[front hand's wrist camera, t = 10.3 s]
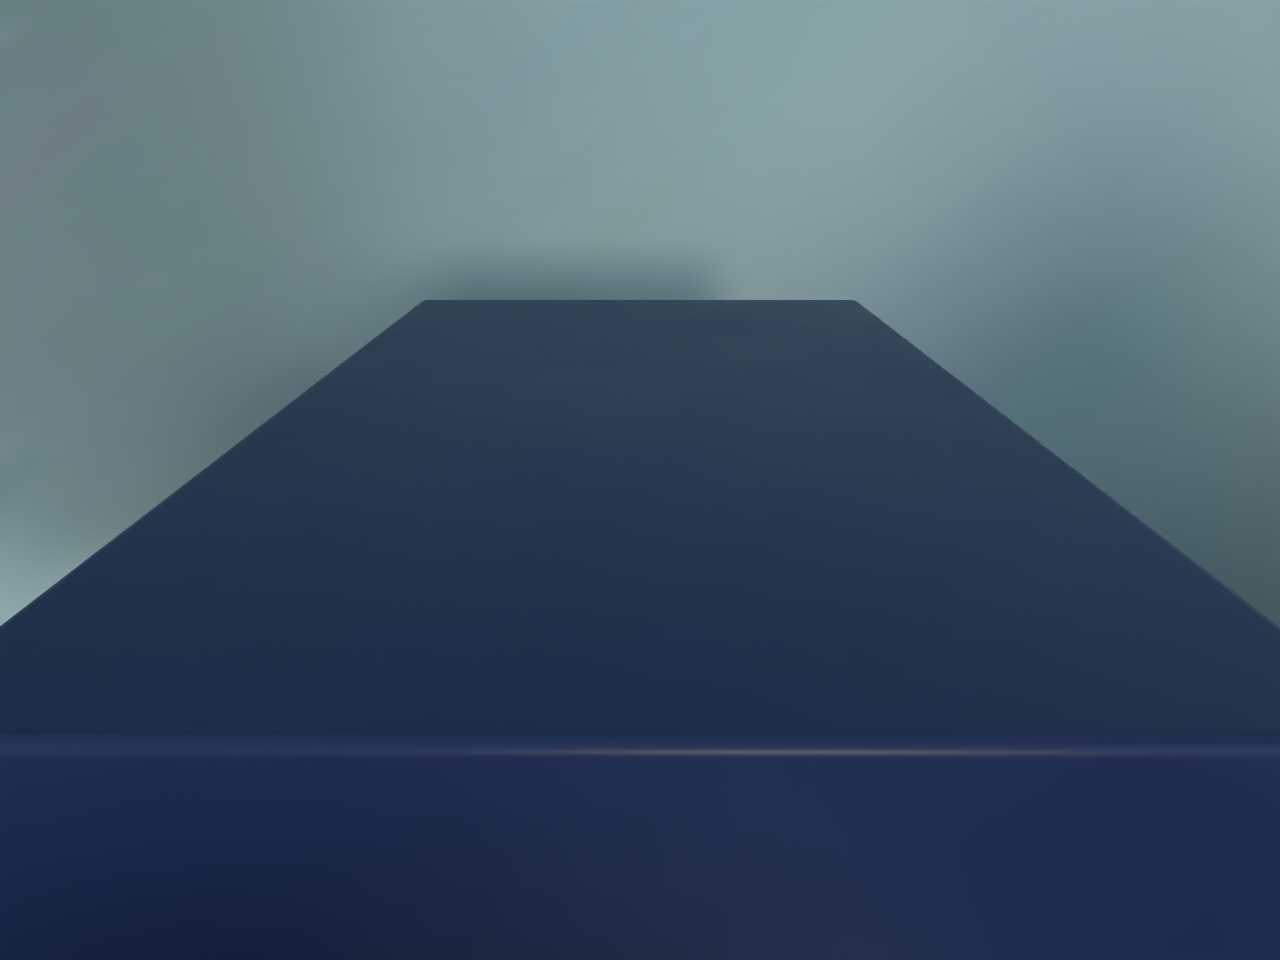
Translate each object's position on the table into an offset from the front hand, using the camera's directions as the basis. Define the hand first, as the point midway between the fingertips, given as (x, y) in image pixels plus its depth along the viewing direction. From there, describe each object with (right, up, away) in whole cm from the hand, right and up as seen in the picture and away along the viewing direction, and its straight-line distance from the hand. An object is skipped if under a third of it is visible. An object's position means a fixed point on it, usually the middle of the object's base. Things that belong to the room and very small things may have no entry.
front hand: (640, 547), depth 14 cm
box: (0, -6, +5) cm, 8 cm away
